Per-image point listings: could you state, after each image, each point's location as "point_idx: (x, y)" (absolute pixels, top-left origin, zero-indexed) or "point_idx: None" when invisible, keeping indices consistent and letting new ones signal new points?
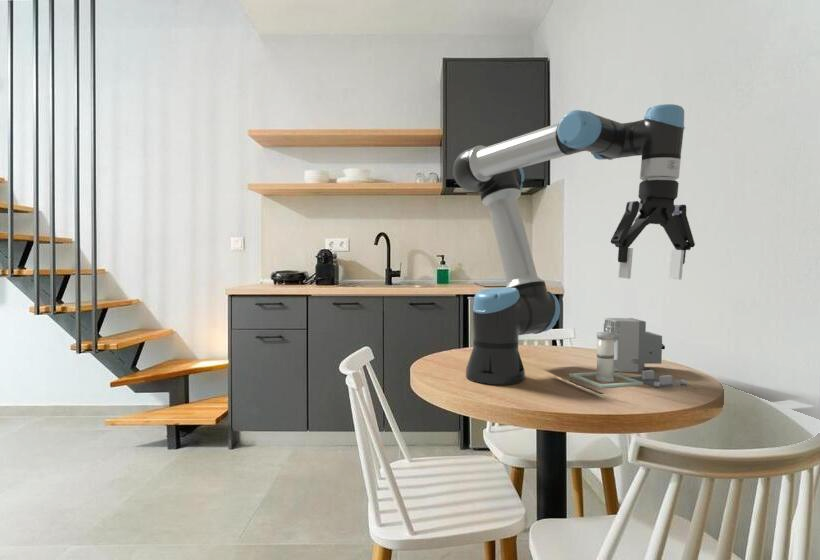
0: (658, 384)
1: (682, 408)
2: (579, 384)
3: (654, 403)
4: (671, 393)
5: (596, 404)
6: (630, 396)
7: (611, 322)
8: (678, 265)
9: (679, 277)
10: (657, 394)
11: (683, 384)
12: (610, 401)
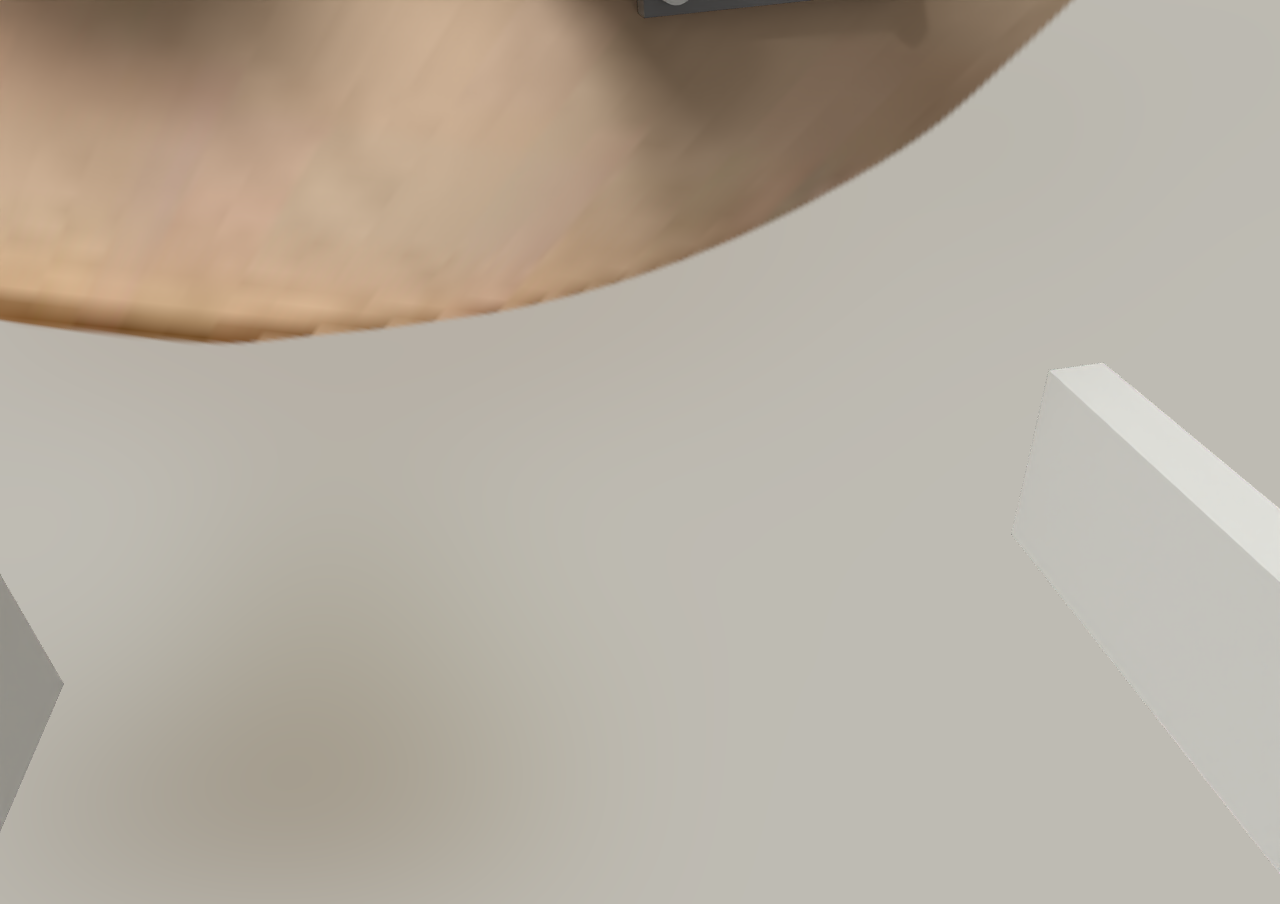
0: (673, 3)
1: (584, 282)
2: None
3: (496, 183)
4: None
5: (128, 148)
6: (440, 22)
7: None
8: (1148, 677)
9: (1036, 554)
10: None
11: None
12: (248, 104)
